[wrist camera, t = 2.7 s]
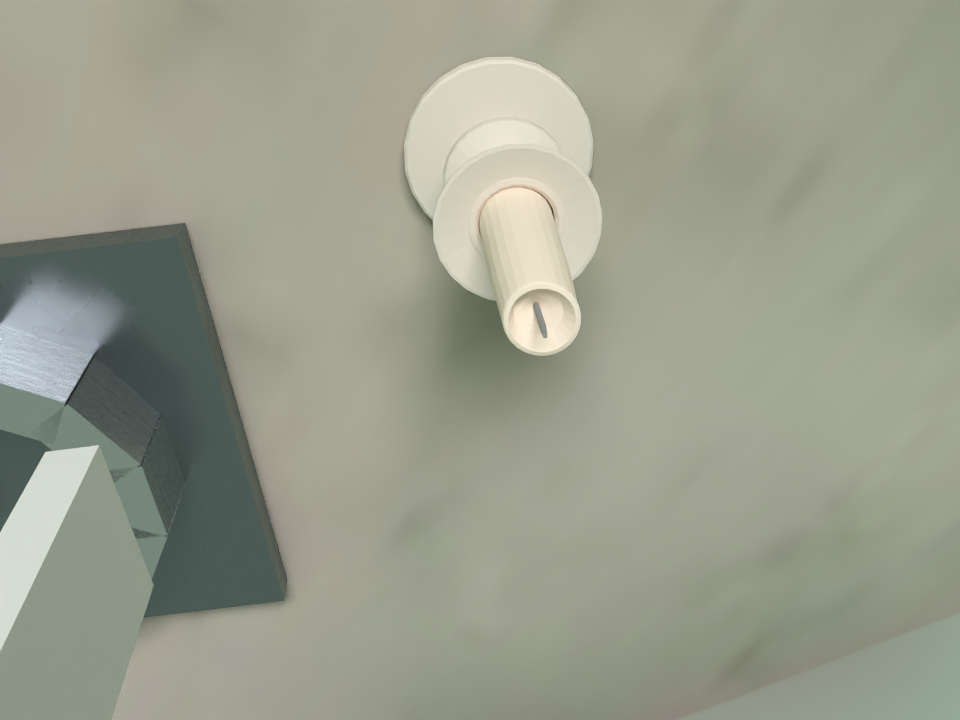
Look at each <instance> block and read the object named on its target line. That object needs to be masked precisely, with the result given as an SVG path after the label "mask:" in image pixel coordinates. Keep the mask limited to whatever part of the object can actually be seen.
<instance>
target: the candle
mask: <svg viewBox="0 0 960 720" xmlns="http://www.w3.org/2000/svg"><path fill="white" fill-rule="evenodd" d="M593 144H594V143H593V138H592V133H591V128H590V123H589V119H588V117H587V115H586V113H585V111H584V110H583V108H582V106H581V104H580V102H579V100H578V98H577V96H576V95H575V93H574V92H573V91H572V90H571V89H570V88H569V87H568V86H567V85H566V84H565V83H564V82H563V81H562V79H561V78H560V77H559V76H557V75H556V74H554V73H552V72H550V71H549V70H547V69H545V68H544V67H542V66H540V65H539V64H537V63H533V62H530V61H526V60H522V59H518V58H515V57H485V58H482V59H478V60H475V61H472V62H468V63H465V64H461V65H460V66H458V67H456V68H455V69H453V70H451V71H450V72H448V73H446V74H445V75H443V76H442V77H440V78H439V79H438V80H437V81H436V82H435V83H434V84H433V85H432V86H431V87H430V88H429V89H428V90H427V91H426V92H425V93H424V94H423V96H422V97H421V99H420V100H419V102H418V104H417V106H416V108H415V110H414V112H413V113H412V115H411V117H410V119H409V124H408V128H407V132H406V137H405V141H404V158H405V173H406V176H407V179H408V182H409V185H410V188H411V191H412V194H413V196H414V197H415V199H416V200H417V202H418V203H419V205H420V206H421V208H422V209H423V211H424V213H425V214H426V215H427V216H428V217H430V218H431V219H432V220H433V240H434V243H435V246H436V249H437V252H438V256H439V259H440V261H441V262H442V264H443V265H444V267H445V268H446V270H447V271H448V273H449V274H450V276H451V277H452V278H454V279H455V280H456V281H457V282H458V283H459V284H461V285H462V286H463V287H464V288H465V289H466V290H468V291H470V292H472V293H474V294H476V295H479V296H481V297H483V298H485V299H489V300H494V301H496V302H497V306H498V310H499V313H500V317H501V321H502V324H503V328H504V331H505V334H506V335H507V337H508V339H509V340H510V342H511V343H512V344H514V345H515V346H516V347H517V348H518V349H520V350H522V351H524V352H525V353H529V354H532V355H536V356H547V355H552V354H556V353H558V352H560V351H562V350H564V349H565V348H566V347H568V346H569V345H570V344H571V343H572V342H573V340H574V339H575V337H576V336H577V334H578V332H579V329H580V326H581V312H580V308H579V305H578V302H577V298H576V294H575V290H574V285H573V280H574V279H575V278H576V277H577V276H578V275H580V274H581V273H582V271H583V270H584V269H585V267H586V266H587V264H588V263H589V261H590V260H591V258H592V257H593V255H594V253H595V250H596V247H597V244H598V242H599V239H600V236H601V225H602V211H601V207H600V202H599V197H598V193H597V192H596V190H595V188H594V186H593V184H592V182H591V180H590V178H589V174H590V172H591V169H592V159H593Z"/></svg>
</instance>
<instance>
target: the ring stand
mask: <svg viewBox="0 0 960 720" xmlns="http://www.w3.org/2000/svg"><path fill="white" fill-rule="evenodd" d="M97 445H99V446H100V449H101V451H102V454H103V456H104V459H105V461H106V464H107V467H108V469H109V472H110V474H111V477H112V479H113V482H114V484H115V487H116V490H117V492H118V495H119V497H120V500H121V502H122V505H123V508H124V510H125V513H126V515H127V518H128V520H129V523H130V526H131V528H132V531H133V533H134V536H135V538H136V541H137V544H138V546H139V549H140V551H141V554H142V556H143V559H144V562H145V564H146V567H147V569H148V572H149V574H150V577H151V580H152V582H153V585H154V586H153V589H152V592H151V595H150V598H149V602H148V605H147V608H146V611H145V614H144V617H150V616H159V615H167V614H175V613H184V612H192V611H200V610H209V609H217V608H225V607H234V606H242V605H250V604H259V603H267V602H275V601H284V597H285V590H286V584H287V578H286V574H285V571H284V567H283V564H282V560H281V557H280V553H279V550H278V546H277V543H276V539H275V536H274V532H273V529H272V525H271V522H270V518H269V515H268V511H267V508H266V504H265V501H264V498H263V494H262V491H261V487H260V484H259V480H258V477H257V473H256V470H255V466H254V463H253V459H252V456H251V452H250V449H249V445H248V442H247V438H246V435H245V431H244V428H243V424H242V421H241V417H240V414H239V410H238V407H237V403H236V400H235V396H234V393H233V389H232V386H231V382H230V379H229V375H228V372H227V368H226V365H225V361H224V358H223V354H222V351H221V347H220V344H219V340H218V337H217V334H216V330H215V327H214V323H213V320H212V316H211V313H210V309H209V306H208V302H207V299H206V295H205V292H204V288H203V285H202V281H201V278H200V274H199V271H198V267H197V264H196V260H195V257H194V253H193V250H192V246H191V243H190V239H189V236H188V232H187V229H186V225H185V223H182V224H174V225H165V226H156V227H148V228H139V229H131V230H122V231H113V232H105V233H96V234H87V235H79V236H70V237H62V238H53V239H44V240H36V241H27V242H18V243H10V244H1V245H0V532H1V530H2V528H3V527H4V525H5V523H6V521H7V519H8V518H9V516H10V514H11V512H12V510H13V509H14V507H15V505H16V503H17V502H18V500H19V498H20V496H21V494H22V493H23V491H24V489H25V487H26V485H27V484H28V482H29V480H30V478H31V477H32V475H33V473H34V471H35V469H36V468H37V466H38V464H39V462H40V461H41V459H42V457H43V455H44V453H45V452H48V451H56V450H64V449H72V448H80V447H88V446H97Z"/></svg>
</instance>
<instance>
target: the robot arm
mask: <svg viewBox="0 0 960 720" xmlns="http://www.w3.org/2000/svg"><path fill="white" fill-rule="evenodd" d="M153 586H154V585H153V582H152V580H151V577H150V574H149V572H148V569H147V567H146V564H145V562H144V559H143V556H142V554H141V551H140V549H139V546H138V544H137V541H136V538H135V536H134V533H133V531H132V528H131V526H130V523H129V520H128V518H127V515H126V513H125V510H124V508H123V505H122V502H121V500H120V497H119V495H118V492H117V490H116V487H115V484H114V482H113V479H112V477H111V474H110V472H109V469H108V467H107V464H106V461H105V459H104V456H103V454H102V451H101V449H100V446H99V445H97V446H88V447H80V448H72V449H64V450H56V451H48V452H45V453H44V455H43V457H42V459H41V461H40V462H39V464H38V466H37V468H36V469H35V471H34V473H33V475H32V477H31V478H30V480H29V482H28V484H27V485H26V487H25V489H24V491H23V493H22V494H21V496H20V498H19V500H18V502H17V503H16V505H15V507H14V509H13V510H12V512H11V514H10V516H9V518H8V519H7V521H6V523H5V525H4V527H3V528H2V530H1V532H0V720H111V717H112V714H113V711H114V708H115V705H116V702H117V699H118V695H119V692H120V689H121V686H122V683H123V680H124V677H125V674H126V670H127V667H128V664H129V661H130V658H131V655H132V652H133V649H134V645H135V642H136V639H137V636H138V633H139V630H140V627H141V623H142V620H143V617H144V614H145V611H146V608H147V605H148V602H149V598H150V595H151V592H152V589H153Z"/></svg>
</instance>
